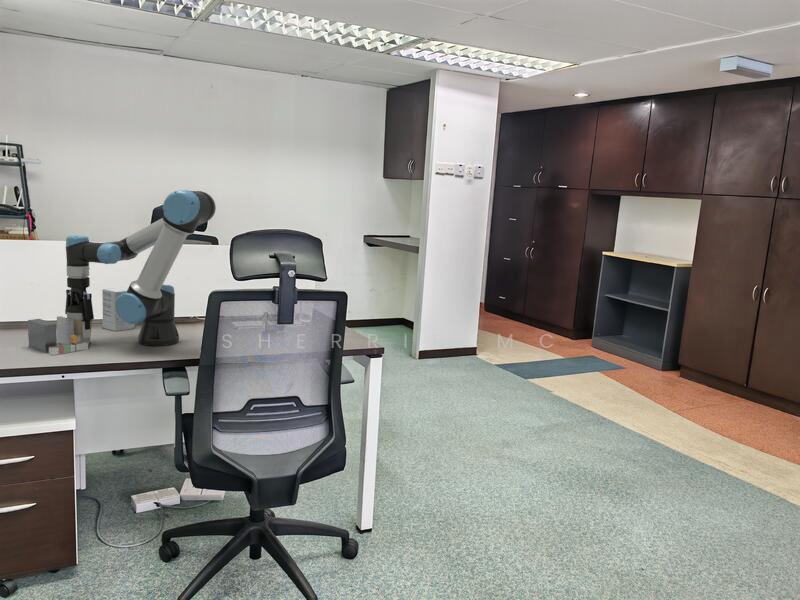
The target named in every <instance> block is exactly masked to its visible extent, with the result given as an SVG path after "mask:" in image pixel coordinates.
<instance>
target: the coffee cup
mask: <svg viewBox="0 0 800 600" xmlns="http://www.w3.org/2000/svg"><path fill="white" fill-rule="evenodd" d="M65 309H66V308H65ZM66 313H67V314H66V318H68V319H72V320H73V323H74V334H76V335H79V336H80V341H79V342H88V344H90V343H91V340H92V339H91V336H92V325H93V324H92V321H93V320H91V321H90V337H89V338H82V321H81V320H83V317H82V310H81V307H80V306H79V304H76V305H74V304H73V305H72V304H71V305H69V307H68V308H67V309H66ZM79 342H77V343H79Z"/></svg>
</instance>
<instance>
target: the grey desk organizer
mask: <svg viewBox="0 0 800 600" xmlns="http://www.w3.org/2000/svg"><path fill="white" fill-rule="evenodd" d="M27 333H28V334H27V335H28V347H29V348H31V349H34V350H36V351H39V352H42V353H45V354H46V353H48V354H49V355H50V356H54V355H62V354H66V353H68V354H69V353H73V352H79V351H85V350H89V343H88V342H79V343H72V344H58V343H57V323H54V322H51V321H47V320H44V319H42V318H32V319H28V320H27Z"/></svg>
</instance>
